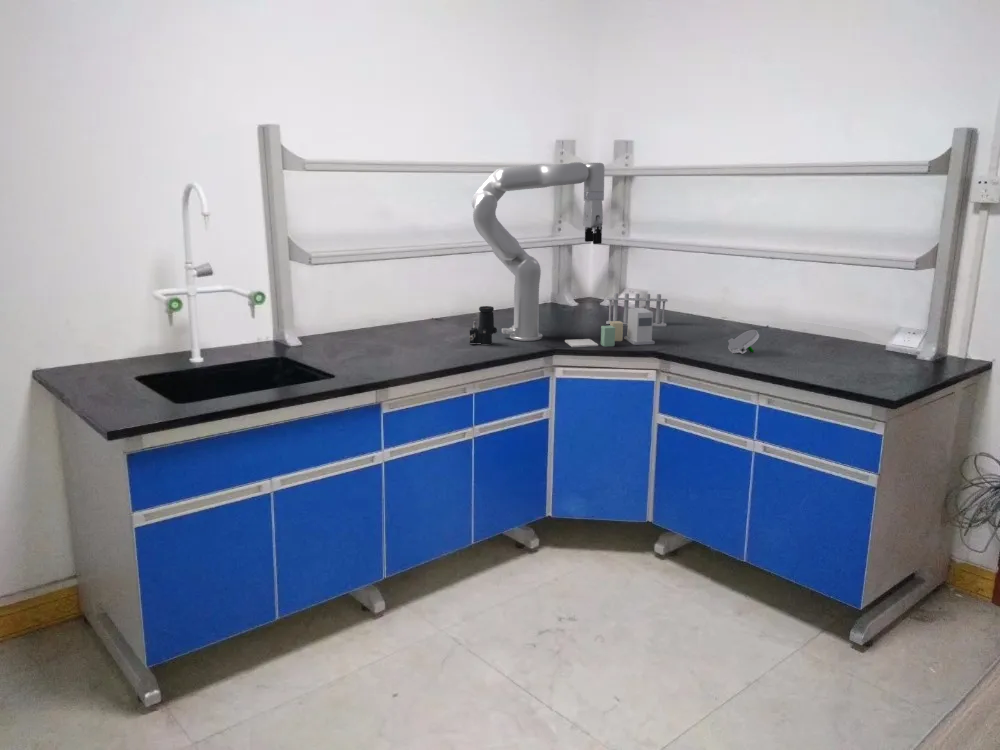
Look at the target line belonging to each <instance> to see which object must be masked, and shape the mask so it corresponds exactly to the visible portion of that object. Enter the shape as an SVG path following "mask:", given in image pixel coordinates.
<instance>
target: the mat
mask: <svg viewBox="0 0 1000 750" xmlns="http://www.w3.org/2000/svg"><path fill="white" fill-rule="evenodd" d="M564 342H565V343H566V344H567V345H569V346H570V347H571V348H584V347H585V348H587V347H599V344H598V343H597V342H595V341H594V340H592V339H591V338H583V339H581V338H580V339H579V338H578V339H565V340H564Z"/></svg>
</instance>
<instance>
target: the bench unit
mask: <svg viewBox="0 0 1000 750" xmlns="http://www.w3.org/2000/svg"><path fill="white" fill-rule="evenodd" d="M645 308H646V307H645ZM645 308H644V307H639V308H635V307H628V321H627V322H628V325H627V331H626V332H627V334H626V335H624V336H623V337H624V338H623V340H626V341H627V342H629V343H631V344H632V345H634V346H636V345H637V346H638V345H641V346H642V345H644V346H645V345H655V343H656V342H655V340H653V339H652V338H653V327H654V326H653V323H654V321H653V320H654V311H651V310H650V311H649V310H647V309H645Z"/></svg>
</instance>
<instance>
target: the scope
mask: <svg viewBox="0 0 1000 750" xmlns="http://www.w3.org/2000/svg"><path fill="white" fill-rule="evenodd" d="M478 311H479V313H478V314H479V316H478V317H479V319H478V328H477V321H474V320H473V323H472V327H471V329H469V335H468V336H469V337H468V340H469V344H470V343H481V344H491V343H492V344H493V337H492V335H493V334H496V333H498V329H497V327H496V326H495V323H494V318H495V317H494V306H489V305H482V306H479V307H478ZM481 344H480V345H481ZM492 344H491V345H492Z"/></svg>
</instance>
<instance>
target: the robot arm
mask: <svg viewBox="0 0 1000 750" xmlns="http://www.w3.org/2000/svg"><path fill="white" fill-rule="evenodd" d="M582 183H583V201H584V203H583V215H582V216H583V217H582V220H583V221H582V225H583V226H584V242H586V243H587V242H592V244H594V245H601V244H602V242H603V241H602V239H603V238H602V237H603V236H602V235H603V220H604V219H603V217H604V212H603V201H605V164H604V163H602V162H588V163H584V162H580V161H575V162H569V163H568V162H567V163H558V164H542V163H541V164H540V163H539V164H528V165H527V164H526V165H518V166H516V165H515V166H507V167H499V168H497V169H495V170H494V171H493V172H492V173H491V175H490V176H489V177H488V179H486V180H485V181H484V183H483V184H482V185H481V186H480V187H479V188H478V190H476V192H475V193H474V195H472V198H471V207H472V209H473V212H472V213H473V214H472V218H473V220H472V221H473V224H474V227H475V230H476V231H477V232H478V234H479V235H480V236H481V238H483V240H484V241H485V242H486V243H487V244H488V245H489V246H490V247H491V250H492V252H493V254H494V255H495V257H496V258H497V259H498V260H499V261H500V262H501V263H502V264H503V265H504V266H505V267H506V268H507V269H508V271H509V272H511V273H512V274H513V275H514V285H513V286H514V287H513V289H514V290H513V296H514V297H513V325H511V326H510V327H509V328H507V327H503V328H501V334H507V335H509V338H510V339H511V340H514V341H521V342H527V341H528V342H531V341H532V342H533V341H539V340H541V339H543V334H542V333H540V332H539V326H540V325H539V321H540V320H539V319H540V318H539V316H540V314H539V313H540V311H539V310H540V309H539V308H540V282H541V275H542V274H541V273H542V272H541V271H542V270H541V265H540V263H539V261H538V260H537V259H536V258H535V257H533V256H531V255H529V253H527V252H526V250H524V249H523V247H522V246H521V245H520V243H519V240H517V238H515V236H513V235H512V234H511V233H510V232H509V230H507V229H506V228H505V227H504V226H503V224H502V223H501V222H500V221H499V219H498V218H497V215H496V214H497V213H496V212H497V208H498V202H499V201H500V200H501V198H502V197H503V196H504V194H506V193H507V192H512V191H513V192H514V191H522V190H533V189H534V190H535V189H544V188H548V187H549V188H550V187H555V186H557V187H558V186H567V185H578V184H582Z"/></svg>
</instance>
